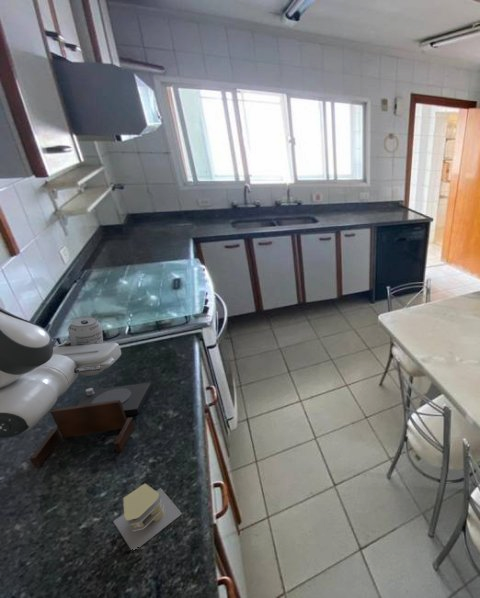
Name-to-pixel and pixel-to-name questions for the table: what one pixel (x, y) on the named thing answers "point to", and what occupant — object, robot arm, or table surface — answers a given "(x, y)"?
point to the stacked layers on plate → (145, 515)
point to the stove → (120, 396)
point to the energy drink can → (85, 335)
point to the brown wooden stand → (86, 425)
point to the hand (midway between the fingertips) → (81, 341)
